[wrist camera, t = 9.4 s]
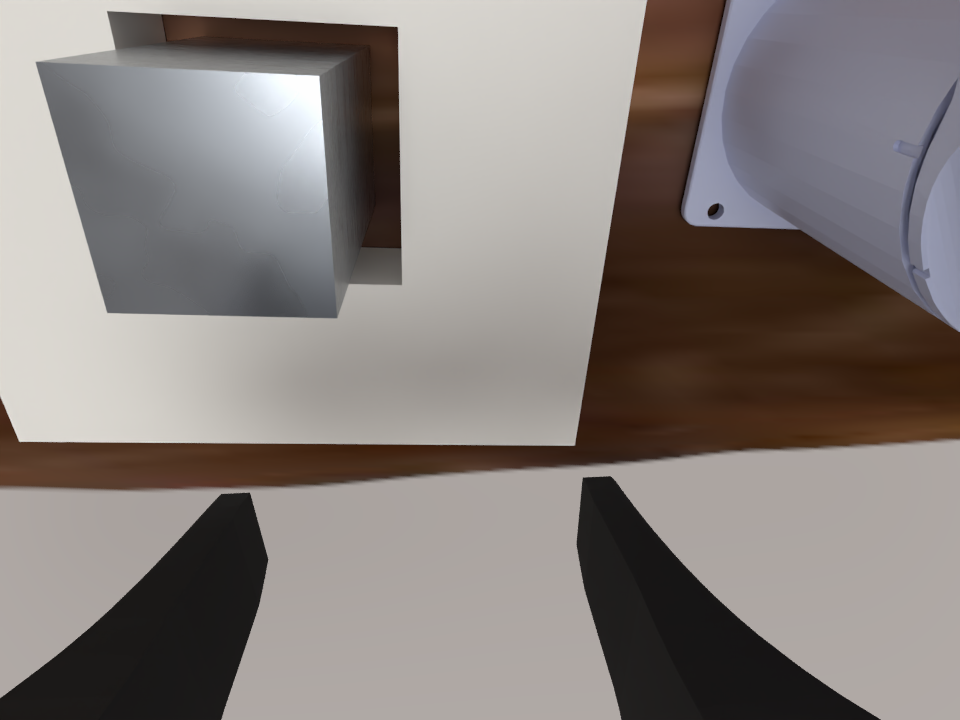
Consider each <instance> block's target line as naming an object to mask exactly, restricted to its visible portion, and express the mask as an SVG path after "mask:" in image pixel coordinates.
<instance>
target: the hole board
mask: <svg viewBox="0 0 960 720" xmlns="http://www.w3.org/2000/svg"><path fill="white" fill-rule="evenodd" d="M646 3H647V0H0V396H1V399H2V401H3V404H4V406H5V408H6V411H7V413H8V416H9V418H10V420H11V423H12V425H13V427H14V430H15V432H16V435H17V437H18V439H19V442H142V443H280V444H418V445H556V446H575V441H576V434H577V428H578V422H579V416H580V410H581V404H582V397H583V391H584V385H585V379H586V373H587V367H588V360H589V354H590V348H591V342H592V336H593V330H594V323H595V317H596V311H597V305H598V299H599V293H600V286H601V280H602V274H603V268H604V262H605V256H606V249H607V243H608V237H609V231H610V225H611V219H612V212H613V206H614V200H615V194H616V188H617V182H618V175H619V169H620V163H621V157H622V151H623V145H624V138H625V132H626V126H627V120H628V114H629V108H630V101H631V95H632V89H633V83H634V77H635V71H636V64H637V58H638V52H639V46H640V40H641V34H642V27H643V21H644V15H645V9H646ZM161 14H170V15H189V16H207V17H225V18H244V19H262V20H281V21H299V22H317V23H336V24H354V25H373V26H391V27H398V60H399V122H400V184H401V246H402V248H370V247H361V249H360V252H359V255H358V258H357V261H356V264H355V267H354V270H353V273H352V276H351V279H350V282H349V285H348V288H347V291H346V294H345V297H344V300H343V303H342V306H341V309H340V312H339V315H338V318H295V317H252V316H208V315H165V314H122V313H107V311H106V307H105V304H104V300H103V297H102V293H101V290H100V286H99V283H98V279H97V276H96V272H95V269H94V265H93V262H92V258H91V255H90V251H89V248H88V244H87V241H86V237H85V234H84V230H83V227H82V223H81V220H80V216H79V213H78V209H77V206H76V202H75V199H74V195H73V192H72V188H71V185H70V181H69V178H68V174H67V171H66V167H65V164H64V160H63V157H62V153H61V150H60V146H59V143H58V139H57V136H56V132H55V129H54V125H53V122H52V118H51V115H50V111H49V108H48V104H47V101H46V97H45V94H44V90H43V87H42V83H41V80H40V76H39V73H38V69H37V66H36V62H37V61H43V60H50V59H57V58H63V57H70V56H77V55H83V54H90V53H96V52H103V51H110V50H116V49H123V48H130V47H136V46H143V45H150V44H156V43H163V42H166V37H165V32H164V27H163V21H162V16H161Z"/></svg>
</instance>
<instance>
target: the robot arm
mask: <svg viewBox="0 0 960 720" xmlns="http://www.w3.org/2000/svg"><path fill="white" fill-rule="evenodd" d="M716 203H719V209H718V211H717V213H715V214H714V215H712V216H708V214H707V211H708V209H709V207H710V206H712V205H713V204H716ZM681 214H682V216H683V218H684V219H685V220H686V221H687V222H688V223H689V224H691V225H694V226H713V227H743V228H773V229H800V230H802V231H803V232H805V233H806V234H808V235H809V236H811V237H812V238H814V239H816V240H817V241H819V242H820V243H822V244H823V245H825V246H826V247H828V248H830V249H831V250H833V251H834V252H836V253H837V254H839V255H840V256H842V257H844V258H845V259H847V260H848V261H850V262H851V263H853V264H854V265H856V266H858V267H859V268H861V269H862V270H864V271H865V272H867V273H868V274H870V275H872V276H873V277H875V278H876V279H878V280H879V281H881V282H882V283H884V284H886V285H887V286H889V287H890V288H892V289H893V290H895V291H896V292H898V293H899V294H901V295H903V296H904V297H906V298H907V299H909V300H910V301H912V302H913V303H915V304H917V305H918V306H920V307H921V308H923V309H924V310H926V311H927V312H929V313H931V314H932V315H934V316H935V317H937V318H938V319H940V320H941V321H943V322H945V323H946V324H948V325H949V326H951V327H952V328H954V329H955V330H957V331H958V332H960V0H727V1H726V5H725V10H724V14H723V19H722V24H721V28H720V33H719V37H718V42H717V46H716V51H715V56H714V60H713V65H712V69H711V74H710V78H709V83H708V87H707V92H706V97H705V101H704V106H703V110H702V115H701V119H700V124H699V129H698V133H697V138H696V142H695V147H694V151H693V156H692V160H691V165H690V170H689V174H688V179H687V183H686V188H685V192H684V197H683V202H682V206H681ZM577 549H578V555H579V561H580V566H581V572H582V578H583V583H584V589H585V592H586V595H587V599H588V603H589V606H590V609H591V612H592V616H593V620H594V623H595V626H596V629H597V633H598V636H599V640H600V643H601V646H602V649H603V653H604V656H605V660H606V663H607V666H608V670H609V673H610V676H611V679H612V683H613V686H614V690H615V694H616V698H617V702H618V706H619V710H620V715H621V719H622V720H880V719H879V718H877V717H876V716H874V715H872V714H871V713H869V712H867V711H866V710H864V709H863V708H861V707H859V706H857V705H856V704H854V703H853V702H851V701H850V700H848V699H846V698H845V697H843V696H842V695H840V694H838V693H837V692H836V691H834V690H833V689H831V688H830V687H828V686H827V685H825V684H824V683H822V682H821V681H820V680H818V679H817V678H815V677H814V676H812V675H811V674H809V673H808V672H806V671H805V670H804V669H802V668H801V667H800V666H798V665H797V664H795V663H794V662H793V661H792V660H790V659H789V658H788V657H786V656H785V655H784V654H782V653H781V652H780V651H779V650H777V649H776V648H775V647H773V646H772V645H771V644H769V643H768V642H767V641H766V640H764V639H763V638H762V637H760V636H759V635H758V634H757V633H756V632H754V631H753V630H752V629H751V628H750V627H748V626H747V625H746V624H745V623H744V622H743V621H741V620H740V619H739V618H738V617H737V616H736V615H735V614H733V613H732V612H731V611H730V610H729V609H728V608H727V607H726V606H725V605H724V604H722V603H721V602H720V601H719V600H718V599H717V598H716V597H715V596H714V595H713V594H712V593H711V592H710V591H709V590H708V589H707V588H706V587H705V586H704V585H703V584H702V583H701V582H700V581H699V580H698V579H697V578H696V577H695V576H694V575H693V574H692V573H691V572H690V571H689V570H688V569H687V568H686V567H685V566H684V565H683V564H682V562H681V561H680V560H679V559H678V558H677V557H676V556H675V555H674V554H673V553H672V551H671V550H670V549H669V548H668V547H667V546H666V544H665V543H664V542H663V541H662V540H661V539H660V538H659V537H658V535H657V534H656V533H655V532H654V531H653V529H652V528H651V527H650V526H649V524H648V523H647V522H646V521H645V520H644V518H643V517H642V516H641V514H640V513H639V512H638V511H637V509H636V508H635V507H634V506H633V504H632V503H631V502H630V500H629V499H628V498H627V497H626V495H625V494H624V492H623V491H622V490H621V488H620V487H619V485H618V484H617V483H616V481H615V480H614V479H613V478H612V477H610V476H608V477H587V478H583V482H582V492H581V502H580V513H579V524H578V534H577ZM267 563H268V557H267V553H266V550H265V546H264V542H263V539H262V535H261V531H260V528H259V524H258V521H257V517H256V513H255V510H254V506H253V502H252V499H251V495H250V493H234V494H221V495H220V496H219V497H218V498H217V499H216V500H215V501H214V502H213V503H212V504H211V506H210V507H209V508H208V509H207V510H206V511H205V512H204V513H203V514H202V515H201V516H200V517H199V519H198V520H197V521H196V522H195V523H194V524H193V525H192V527H190V528H189V530H188V531H187V532H186V533H185V534H184V535H183V536H182V538H180V539H179V540H178V542H177V543H176V544H175V545H174V546H173V547H172V548H171V549H170V550H169V551H168V552H167V553H166V554H165V555H164V556H163V557H162V558H161V560H160V561H159V562H158V563H157V564H156V565H155V566H154V567H153V568H152V569H151V570H150V571H149V572H148V573H147V574H146V575H145V576H144V577H143V578H142V579H141V580H140V581H139V582H138V583H137V584H136V585H135V586H134V587H133V588H132V589H131V590H130V591H129V592H128V593H127V594H126V595H125V596H124V597H123V598H122V599H121V600H120V601H119V602H117V603H116V604H115V605H114V607H112V609H110V610H109V611H108V612H107V613H106V614H105V615H104V616H103V617H102V618H100V620H98V621H97V622H96V623H95V624H94V625H93V626H91V627H90V628H89V629H88V630H87V631H86V632H84V633H83V634H82V635H81V636H80V637H78V638H77V639H76V640H75V641H74V642H73V643H72V644H70V645H69V646H68V647H67V648H65V649H64V650H63V651H62V652H61V653H59V654H58V655H57V656H56V657H54V658H53V659H52V660H50V661H49V662H48V663H46V664H45V665H44V666H42V667H41V668H40V669H39V670H38V671H36V672H35V673H33V674H32V675H31V676H29V677H28V678H27V679H25V680H24V681H23V682H21V683H20V684H19V685H17V686H16V687H15V688H13V689H12V690H11V691H9V692H8V693H7V694H6V695H4V696H3V697H1V698H0V720H221V719H222V715H223V712H224V709H225V706H226V702H227V700H228V697H229V694H230V691H231V688H232V685H233V682H234V679H235V676H236V673H237V670H238V667H239V664H240V661H241V658H242V655H243V652H244V649H245V646H246V643H247V640H248V637H249V634H250V631H251V628H252V625H253V622H254V619H255V616H256V613H257V610H258V607H259V603H260V598H261V594H262V589H263V584H264V579H265V574H266V568H267Z"/></svg>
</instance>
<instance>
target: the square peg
mask: <svg viewBox="0 0 960 720" xmlns="http://www.w3.org/2000/svg"><path fill="white" fill-rule="evenodd" d="M36 66H37V69H38V73H39V76H40V80H41V83H42V87H43V90H44V94H45V97H46V101H47V104H48V108H49V111H50V115H51V118H52V122H53V125H54V129H55V132H56V136H57V139H58V143H59V146H60V150H61V153H62V157H63V160H64V164H65V167H66V171H67V174H68V178H69V181H70V185H71V188H72V192H73V195H74V199H75V202H76V206H77V209H78V213H79V216H80V220H81V223H82V227H83V230H84V234H85V237H86V241H87V244H88V248H89V251H90V255H91V258H92V262H93V265H94V269H95V272H96V276H97V279H98V283H99V286H100V290H101V293H102V297H103V300H104V304H105V307H106V311H107V313H122V314H165V315H208V316H252V317H295V318H338V315H339V312H340V309H341V306H342V303H343V300H344V297H345V294H346V291H347V288H348V285H349V282H350V279H351V276H352V273H353V270H354V267H355V264H356V261H357V258H358V255H359V252H360V249H361V246H362V243H363V240H364V237H365V234H366V231H367V228H368V225H369V222H370V219H371V216H372V213H373V210H374V207H375V184H374V156H373V128H372V100H371V72H370V45H354V44H336V43H317V42H299V41H280V40H262V39H243V38H225V37H206V36H203V37H196V38H189V39H183V40H176V41H169V42H163V43H156V44H150V45H143V46H136V47H130V48H123V49H116V50H110V51H103V52H96V53H90V54H83V55H77V56H70V57H63V58H57V59H50V60H43V61H37V62H36Z"/></svg>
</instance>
